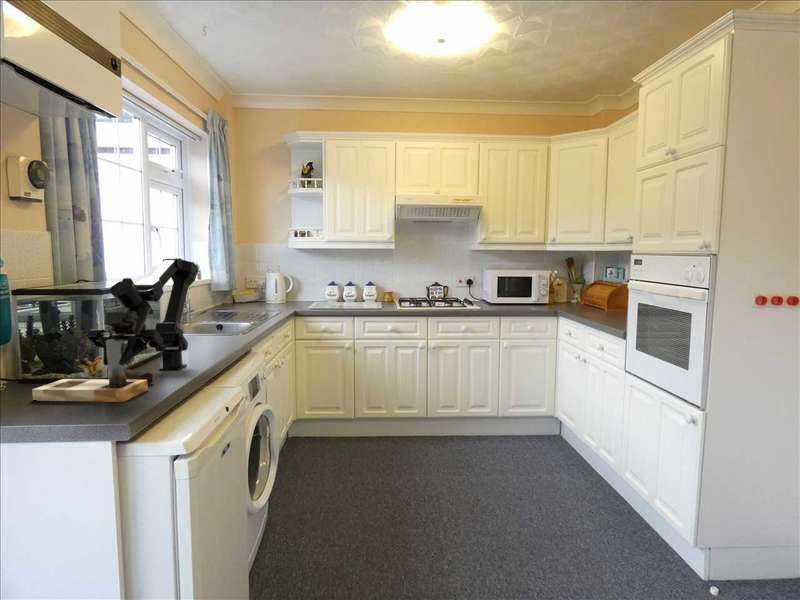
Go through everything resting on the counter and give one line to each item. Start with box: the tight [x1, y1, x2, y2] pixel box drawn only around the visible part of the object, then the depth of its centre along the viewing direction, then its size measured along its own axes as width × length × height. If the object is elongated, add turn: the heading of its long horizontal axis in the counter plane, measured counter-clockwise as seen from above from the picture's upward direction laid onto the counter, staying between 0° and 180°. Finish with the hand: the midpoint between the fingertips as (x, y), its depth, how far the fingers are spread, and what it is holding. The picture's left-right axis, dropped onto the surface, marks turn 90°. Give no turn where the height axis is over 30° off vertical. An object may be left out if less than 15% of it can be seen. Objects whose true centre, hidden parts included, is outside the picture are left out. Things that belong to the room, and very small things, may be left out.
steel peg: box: [106, 339, 127, 388], centre depth 118 cm, size 4×4×13 cm
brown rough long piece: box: [126, 368, 154, 386], centre depth 133 cm, size 19×4×5 cm, turn 59°
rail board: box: [31, 378, 149, 403], centre depth 119 cm, size 10×25×3 cm, turn 87°
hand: (113, 364), depth 117 cm, fingers closed on steel peg, 4 cm apart
